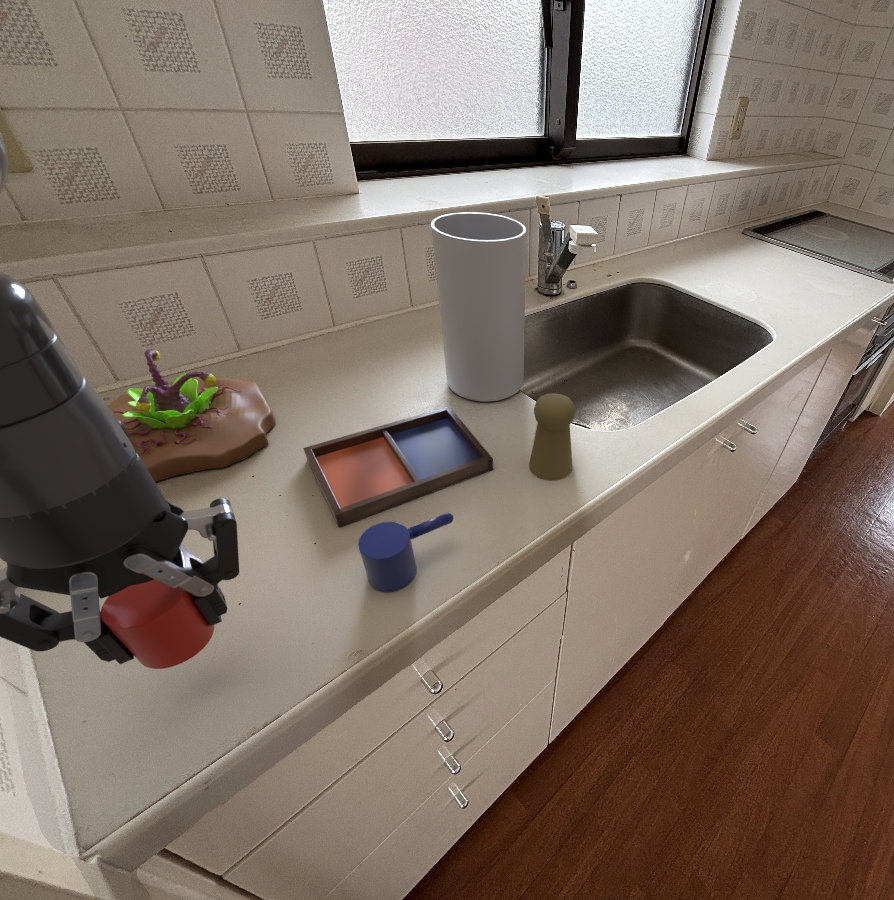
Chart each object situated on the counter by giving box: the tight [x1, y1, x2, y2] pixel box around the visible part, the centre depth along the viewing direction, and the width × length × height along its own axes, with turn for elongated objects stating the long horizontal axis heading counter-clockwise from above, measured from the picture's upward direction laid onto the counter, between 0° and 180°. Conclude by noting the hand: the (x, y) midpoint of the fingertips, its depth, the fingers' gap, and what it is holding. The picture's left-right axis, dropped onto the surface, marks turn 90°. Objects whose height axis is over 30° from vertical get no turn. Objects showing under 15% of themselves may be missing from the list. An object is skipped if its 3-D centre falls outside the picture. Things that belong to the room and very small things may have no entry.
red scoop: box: [100, 579, 215, 670], centre depth 38 cm, size 10×5×6 cm, turn 38°
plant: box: [107, 348, 276, 483], centre depth 62 cm, size 20×20×11 cm
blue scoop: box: [357, 512, 455, 593], centre depth 52 cm, size 10×5×6 cm, turn 127°
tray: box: [303, 406, 494, 528], centre depth 65 cm, size 20×14×2 cm
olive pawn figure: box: [528, 392, 576, 481], centre depth 65 cm, size 6×6×11 cm
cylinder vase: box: [430, 211, 527, 402], centre depth 75 cm, size 12×12×25 cm
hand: (172, 632), depth 38 cm, fingers closed on red scoop, 4 cm apart
